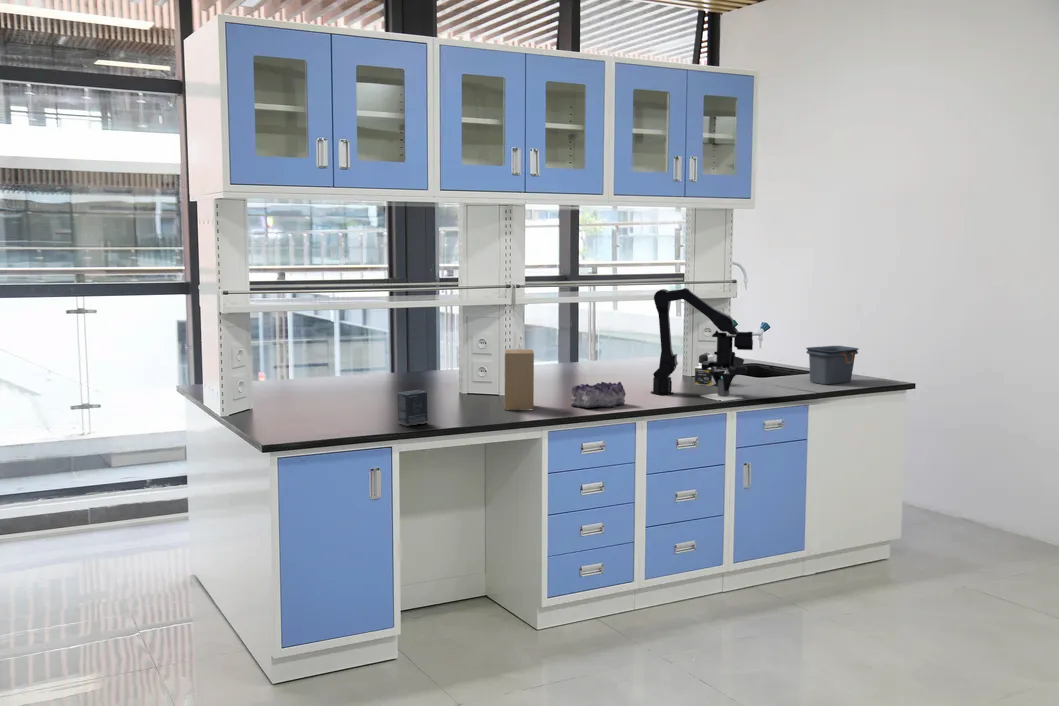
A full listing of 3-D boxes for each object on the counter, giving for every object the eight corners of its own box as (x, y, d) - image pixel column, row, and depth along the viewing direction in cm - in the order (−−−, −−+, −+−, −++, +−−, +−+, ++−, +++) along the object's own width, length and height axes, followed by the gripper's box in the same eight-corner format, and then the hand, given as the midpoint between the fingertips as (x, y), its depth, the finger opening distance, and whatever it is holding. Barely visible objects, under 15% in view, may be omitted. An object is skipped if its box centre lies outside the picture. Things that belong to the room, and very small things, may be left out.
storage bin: (833, 377, 412) (835, 344, 410) (865, 382, 399) (866, 348, 398) (800, 382, 400) (802, 347, 398) (832, 387, 387) (833, 352, 385)
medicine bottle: (694, 384, 392) (695, 355, 391) (699, 382, 398) (700, 353, 397) (711, 386, 389) (712, 356, 387) (716, 383, 395) (717, 354, 394)
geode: (613, 401, 355) (617, 375, 353) (630, 411, 345) (634, 384, 343) (565, 403, 346) (568, 376, 344) (580, 413, 336) (584, 385, 334)
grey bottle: (723, 396, 363) (723, 377, 362) (717, 395, 365) (718, 376, 364) (729, 395, 364) (729, 376, 363) (723, 394, 367) (723, 375, 366)
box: (418, 421, 317) (418, 389, 315) (428, 424, 312) (427, 391, 311) (397, 424, 312) (397, 391, 310) (407, 427, 307) (406, 394, 306)
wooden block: (532, 405, 346) (533, 349, 343) (533, 410, 336) (533, 353, 333) (504, 405, 346) (504, 349, 343) (504, 410, 336) (504, 353, 333)
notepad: (722, 401, 355) (722, 399, 355) (700, 396, 365) (700, 395, 365) (744, 398, 361) (744, 397, 361) (721, 393, 371) (721, 392, 371)
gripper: (758, 350, 359) (757, 392, 361) (722, 345, 375) (721, 385, 377) (736, 352, 353) (735, 394, 355) (701, 347, 369) (700, 387, 371)
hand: (723, 390), depth 365 cm, fingers closed on grey bottle, 3 cm apart
